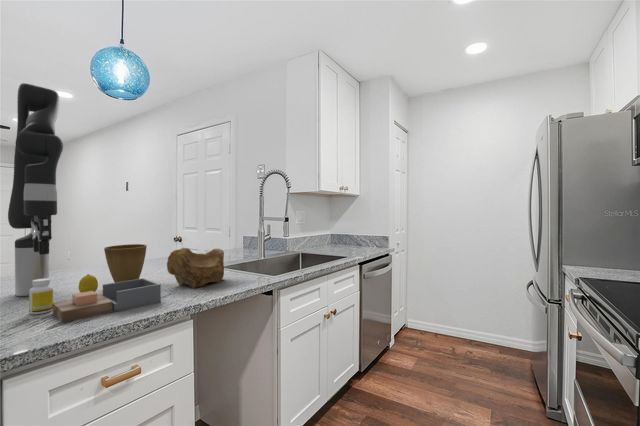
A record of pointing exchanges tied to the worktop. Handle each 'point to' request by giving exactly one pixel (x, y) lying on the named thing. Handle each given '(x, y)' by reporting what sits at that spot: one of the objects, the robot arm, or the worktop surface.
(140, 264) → the plant pot
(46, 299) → the supplement bottle
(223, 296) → the worktop surface
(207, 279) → the rough brown rock
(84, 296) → the block
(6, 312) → the worktop surface
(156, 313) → the worktop surface
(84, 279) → the lemon
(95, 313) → the brown wavy slab
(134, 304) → the box
